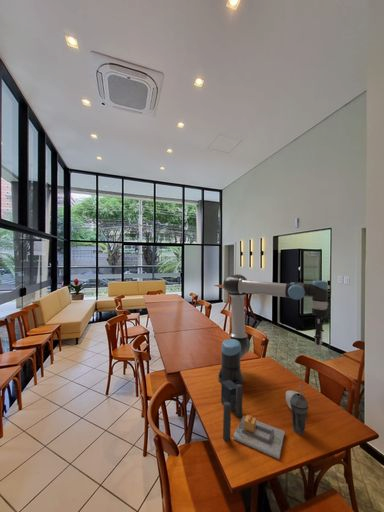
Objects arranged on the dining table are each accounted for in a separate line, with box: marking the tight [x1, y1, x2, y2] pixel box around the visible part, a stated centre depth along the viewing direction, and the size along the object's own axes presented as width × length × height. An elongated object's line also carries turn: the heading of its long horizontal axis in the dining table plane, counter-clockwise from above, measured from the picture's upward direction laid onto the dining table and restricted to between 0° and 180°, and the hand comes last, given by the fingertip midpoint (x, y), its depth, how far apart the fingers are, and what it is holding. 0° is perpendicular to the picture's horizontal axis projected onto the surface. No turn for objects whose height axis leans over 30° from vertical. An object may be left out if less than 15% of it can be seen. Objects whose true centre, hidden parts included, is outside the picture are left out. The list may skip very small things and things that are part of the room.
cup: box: [285, 390, 300, 410], centre depth 114 cm, size 8×10×7 cm
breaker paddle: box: [244, 414, 257, 433], centre depth 96 cm, size 4×4×5 cm
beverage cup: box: [290, 384, 309, 435], centre depth 98 cm, size 7×7×20 cm
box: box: [220, 380, 236, 411], centre depth 114 cm, size 8×6×11 cm
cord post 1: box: [222, 402, 232, 442], centre depth 92 cm, size 3×3×14 cm
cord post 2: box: [235, 384, 244, 419], centre depth 106 cm, size 3×3×14 cm
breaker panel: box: [232, 415, 285, 460], centre depth 93 cm, size 18×14×3 cm
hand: (318, 346), depth 124 cm, fingers open, 13 cm apart
